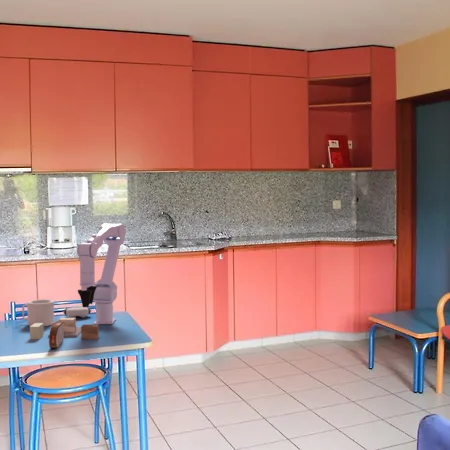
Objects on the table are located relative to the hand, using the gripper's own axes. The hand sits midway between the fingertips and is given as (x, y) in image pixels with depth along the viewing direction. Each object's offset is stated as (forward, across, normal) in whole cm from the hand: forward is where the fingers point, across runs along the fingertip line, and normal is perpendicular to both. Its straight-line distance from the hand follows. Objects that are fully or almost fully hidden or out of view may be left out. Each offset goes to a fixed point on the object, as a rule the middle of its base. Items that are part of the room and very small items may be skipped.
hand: (87, 305), depth 235 cm
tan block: (+10, -4, +7) cm, 13 cm away
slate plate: (+10, -4, +8) cm, 14 cm away
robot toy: (+10, +28, +11) cm, 32 cm away
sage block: (+11, -10, +18) cm, 23 cm away
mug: (+11, +12, +24) cm, 29 cm away
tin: (+11, -22, +7) cm, 25 cm away
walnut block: (+11, -12, -3) cm, 16 cm away
